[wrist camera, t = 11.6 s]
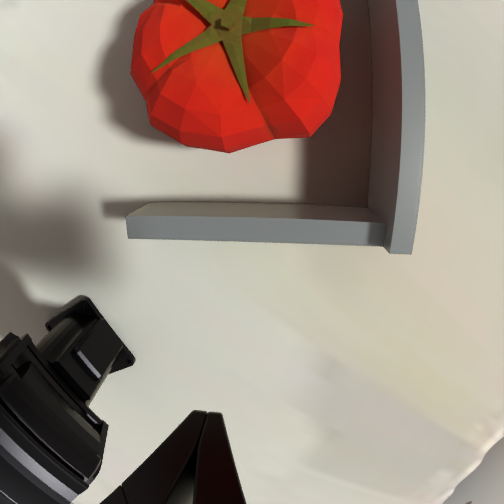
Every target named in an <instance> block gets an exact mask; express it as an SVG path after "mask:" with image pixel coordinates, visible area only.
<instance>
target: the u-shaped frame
mask: <svg viewBox="0 0 504 504" xmlns="http://www.w3.org/2000/svg"><path fill="white" fill-rule="evenodd" d="M368 7H369V19H370V33H371V51H372V91H373V102H372V144H371V163H370V179H369V191H368V203H367V208H363V207H347V206H329V205H308V204H283V203H247V202H150V203H148V204H146V205H144V206H143V207H141V208H139V209H137V210H135V211H134V212H132V213H130V214H129V215H127V216H126V225H127V234H128V239H168V240H206V241H241V242H272V243H302V244H330V245H356V246H381V247H384V248H385V249H386V250H387V251H388V252H389V253H390V254H412V249H413V243H414V237H415V231H416V224H417V217H418V210H419V202H420V193H421V183H422V172H423V159H424V141H425V71H424V54H423V41H422V31H421V22H420V14H419V7H418V0H368Z"/></svg>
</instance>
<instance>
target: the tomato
mask: <svg viewBox="0 0 504 504" xmlns="http://www.w3.org/2000/svg"><path fill="white" fill-rule="evenodd" d="M342 20H343V12H342V8H341V4H340V0H154V3H153V4H152V5H151V6H150V7H149V8H148V9H146V10H145V11H144V12H143V13H142V14H141V15H140V18H139V21H138V25H137V28H136V32H135V36H134V44H133V53H132V64H131V75H132V77H133V79H134V81H135V83H136V84H137V86H138V88H139V90H140V92H141V94H142V95H143V97H144V99H145V101H146V105H147V110H148V115H149V121H150V124H151V125H152V126H153V127H155V128H156V129H158V130H159V131H161V132H163V133H165V134H166V135H168V136H170V137H172V138H173V139H175V140H177V141H178V142H180V143H182V144H184V145H185V146H189V147H195V148H202V149H208V150H214V151H220V152H225V153H232V152H235V151H238V150H241V149H244V148H247V147H250V146H254V145H257V144H260V143H263V142H267V141H270V140H273V139H284V138H310V137H311V136H312V135H313V134H314V133H315V131H316V130H317V129H318V128H319V127H320V126H321V125H322V124H323V123H324V122H325V120H326V119H327V118H328V117H329V116H330V115H331V112H332V109H333V106H334V102H335V99H336V96H337V92H338V89H339V86H340V81H341V69H340V51H339V43H340V36H341V28H342Z"/></svg>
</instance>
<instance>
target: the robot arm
mask: <svg viewBox="0 0 504 504" xmlns="http://www.w3.org/2000/svg"><path fill="white" fill-rule="evenodd" d="M85 303H86V304H87V306H86V304H85ZM45 326H46V328H47V330H48V331H49V333H48V334H47V335H46V336H45V337H44V338H43V339H42V340H41V341H40V342H39V343H38V344H37V345H36V346H35V345H34V344H33V342H32V339H31V338H30V336H29V335H28V334H26V335H24V336H23V337H21V338H19V336H16V335H14V334H12V333H11V332H10V333H9V334H8V335H7V336H6V337H5V338H3V339H2V340H1V341H0V504H70V503H71V502H72V501H73V500H74V499H75V498H76V497H77V496H78V495H79V494H81V493H82V492H84V491H85V490H86V489H88V487H89V484H91V483H92V481H93V480H94V479H95V478H96V476H97V475H98V473H99V471H100V469H101V465H102V459H103V453H104V448H105V442H106V437H107V431H108V426H109V425H108V424H107V423H106V422H104V421H103V420H101V419H100V418H99V417H98V416H97V415H96V414H95V413H94V412H93V411H92V410H91V409H90V408H89V407H88V406H89V405H90V403H91V401H92V400H93V398H94V396H95V395H96V393H97V391H98V390H99V388H100V387H101V385H102V383H103V382H104V380H105V379H106V377H107V375H108V374H110V373H113V372H116V371H119V370H122V369H124V368H127V367H130V366H132V365H133V364H134V363H135V357H134V356H133V355H132V353H131V352H130V351H129V350H128V349H127V347H126V346H125V345H124V344H123V342H122V341H121V340H120V339H119V337H118V336H117V335H116V334H115V332H114V331H113V330H112V328H111V327H110V326H109V324H108V323H107V322H106V320H105V319H104V318H103V316H102V315H101V314H100V312H99V311H98V310H97V308H96V307H95V305H94V304H93V303H92V301H91V300H90V299H89V298H83V299H81V300H80V301H78V302H77V303H75V304H73V305H72V306H70V307H69V308H67V309H66V310H64V311H63V312H61V313H60V314H58V315H56V316H55V317H53V318H52V319H50V320H49V321H48V322H47V323H46V324H45ZM128 359H129V360H128ZM100 504H246V501H245V498H244V494H243V491H242V487H241V484H240V480H239V477H238V473H237V469H236V466H235V462H234V458H233V454H232V451H231V447H230V443H229V439H228V435H227V431H226V427H225V423H224V419H223V415H222V413H219V412H208V413H207V412H206V411H200V410H194V411H192V412H191V413H190V414H189V415H188V416H187V417H186V418H185V420H184V421H183V422H182V423H181V424H180V425H179V426H178V427H177V428H176V429H175V430H174V431H173V432H172V433H171V434H170V435H169V437H168V438H167V439H166V440H165V441H164V442H163V443H162V444H161V445H160V446H159V447H158V448H157V449H156V450H155V451H154V452H153V453H152V454H151V455H150V456H149V457H148V458H147V459H146V460H145V461H144V462H143V463H142V464H141V465H140V466H139V467H138V468H137V469H136V470H135V471H134V472H133V473H132V474H131V475H130V476H129V477H128V478H127V479H126V480H125V481H124V482H123V483H122V486H121V485H120V486H119V487H118V488H117V489H115V490H114V491H113V492H112V493H111V494H110V495H109V496H108V497H107V498H106V499H104V500H103V501H102V502H101V503H100Z"/></svg>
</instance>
